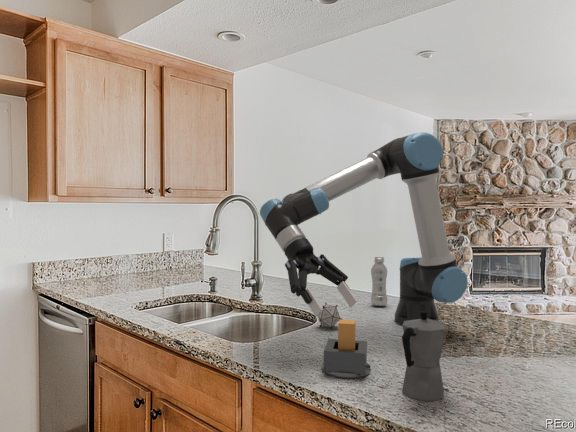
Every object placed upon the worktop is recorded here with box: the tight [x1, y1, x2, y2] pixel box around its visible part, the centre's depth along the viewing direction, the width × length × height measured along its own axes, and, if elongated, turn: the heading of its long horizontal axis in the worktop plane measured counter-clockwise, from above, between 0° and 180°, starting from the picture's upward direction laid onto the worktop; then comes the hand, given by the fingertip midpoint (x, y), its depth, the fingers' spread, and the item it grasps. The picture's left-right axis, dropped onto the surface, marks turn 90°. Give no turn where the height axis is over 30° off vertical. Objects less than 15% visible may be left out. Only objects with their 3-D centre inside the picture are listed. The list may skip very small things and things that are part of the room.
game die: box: [317, 301, 343, 331], centre depth 149 cm, size 9×8×10 cm
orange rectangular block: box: [337, 318, 357, 350], centre depth 111 cm, size 4×4×11 cm
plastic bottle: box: [370, 256, 388, 308], centre depth 181 cm, size 6×7×20 cm
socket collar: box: [321, 338, 371, 380], centre depth 111 cm, size 12×12×6 cm
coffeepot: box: [401, 311, 446, 402], centre depth 96 cm, size 15×9×18 cm, turn 137°
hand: (337, 308), depth 113 cm, fingers open, 13 cm apart
